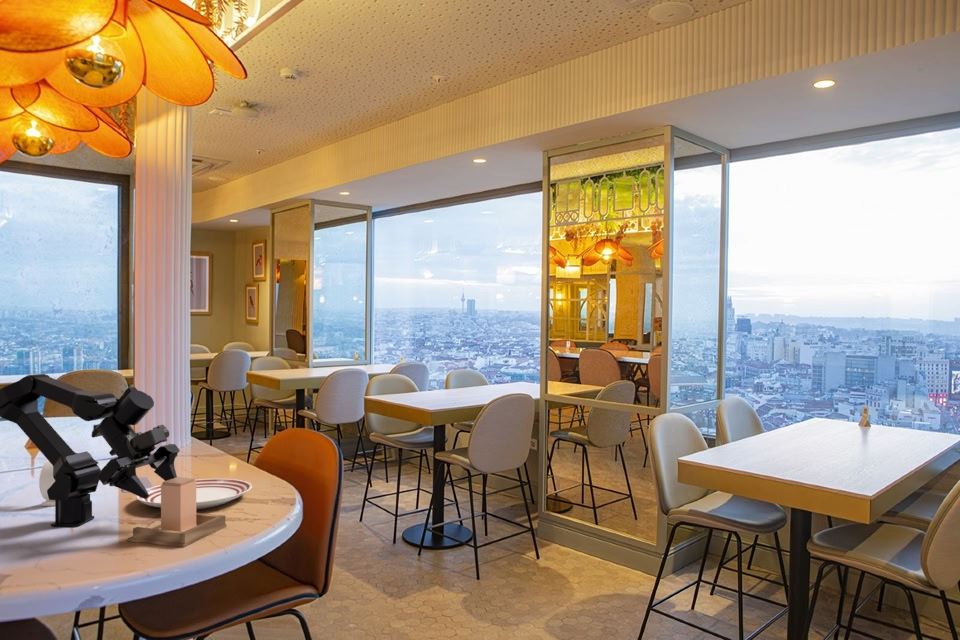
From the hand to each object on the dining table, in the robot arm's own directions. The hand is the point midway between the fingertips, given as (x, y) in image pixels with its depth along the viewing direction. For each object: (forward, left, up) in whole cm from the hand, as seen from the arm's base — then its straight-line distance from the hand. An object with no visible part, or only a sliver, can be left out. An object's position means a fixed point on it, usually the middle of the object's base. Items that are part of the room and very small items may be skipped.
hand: (162, 492), depth 146 cm
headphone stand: (-38, +21, -9) cm, 44 cm away
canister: (+4, -1, -8) cm, 9 cm away
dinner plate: (-4, +25, -9) cm, 27 cm away
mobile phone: (-28, +40, -9) cm, 50 cm away
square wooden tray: (+4, -1, -9) cm, 10 cm away
